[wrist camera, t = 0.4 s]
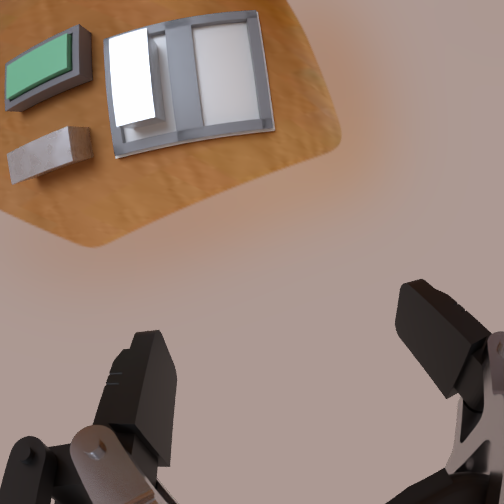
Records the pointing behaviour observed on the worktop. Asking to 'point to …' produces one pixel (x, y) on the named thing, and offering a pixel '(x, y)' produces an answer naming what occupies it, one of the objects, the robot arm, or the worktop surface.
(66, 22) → the worktop surface
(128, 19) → the worktop surface
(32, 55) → the button
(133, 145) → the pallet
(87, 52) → the box
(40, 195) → the worktop surface
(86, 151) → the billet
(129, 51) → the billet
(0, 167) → the worktop surface
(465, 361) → the robot arm
